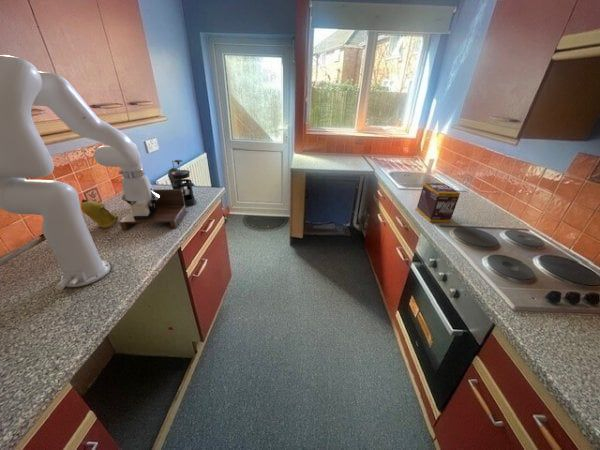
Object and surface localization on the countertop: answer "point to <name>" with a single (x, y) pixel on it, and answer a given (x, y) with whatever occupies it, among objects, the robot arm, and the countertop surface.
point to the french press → (188, 192)
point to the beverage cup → (173, 178)
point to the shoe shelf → (162, 209)
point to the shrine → (98, 213)
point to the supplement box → (437, 202)
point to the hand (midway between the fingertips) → (145, 212)
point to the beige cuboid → (141, 210)
